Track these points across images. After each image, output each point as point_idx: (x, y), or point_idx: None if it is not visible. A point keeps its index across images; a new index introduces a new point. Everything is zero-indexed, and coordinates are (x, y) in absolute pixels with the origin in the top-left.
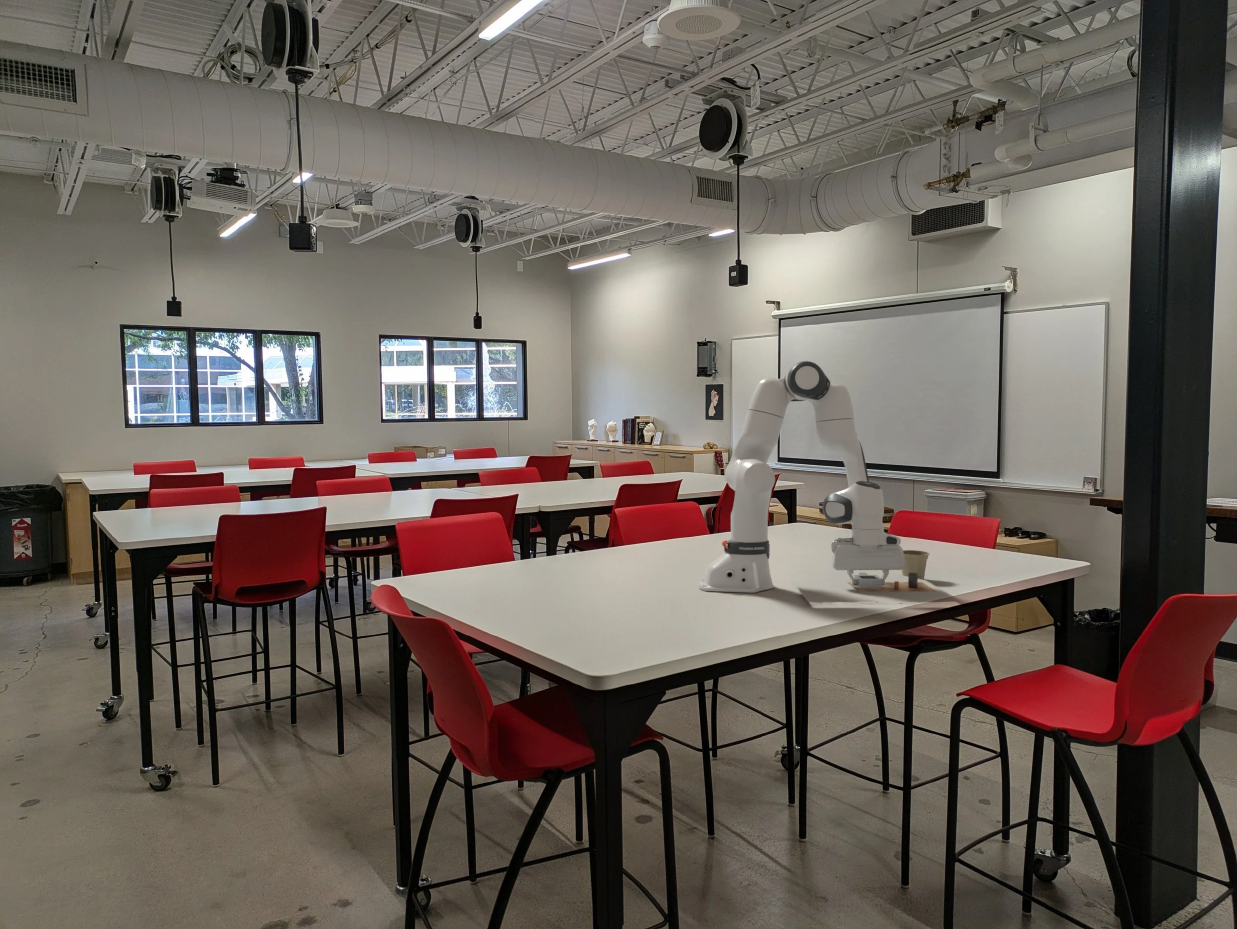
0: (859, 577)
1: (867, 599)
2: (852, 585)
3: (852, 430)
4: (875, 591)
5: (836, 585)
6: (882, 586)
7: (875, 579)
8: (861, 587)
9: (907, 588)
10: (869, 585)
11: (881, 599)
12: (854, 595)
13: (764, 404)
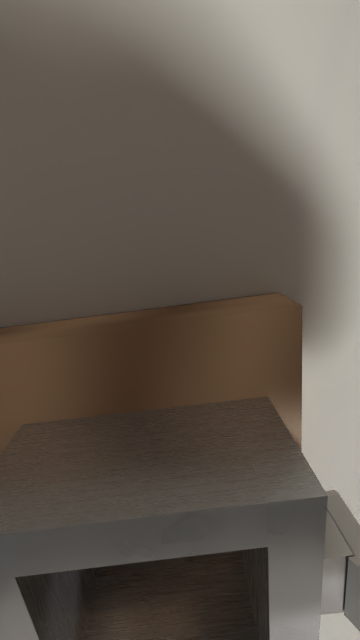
0: (283, 614)
1: (206, 167)
2: (326, 493)
3: None
4: (97, 331)
5: (340, 635)
6: None
7: (49, 527)
8: (249, 415)
9: None
10: (155, 442)
11: (54, 184)
12: None
13: None
